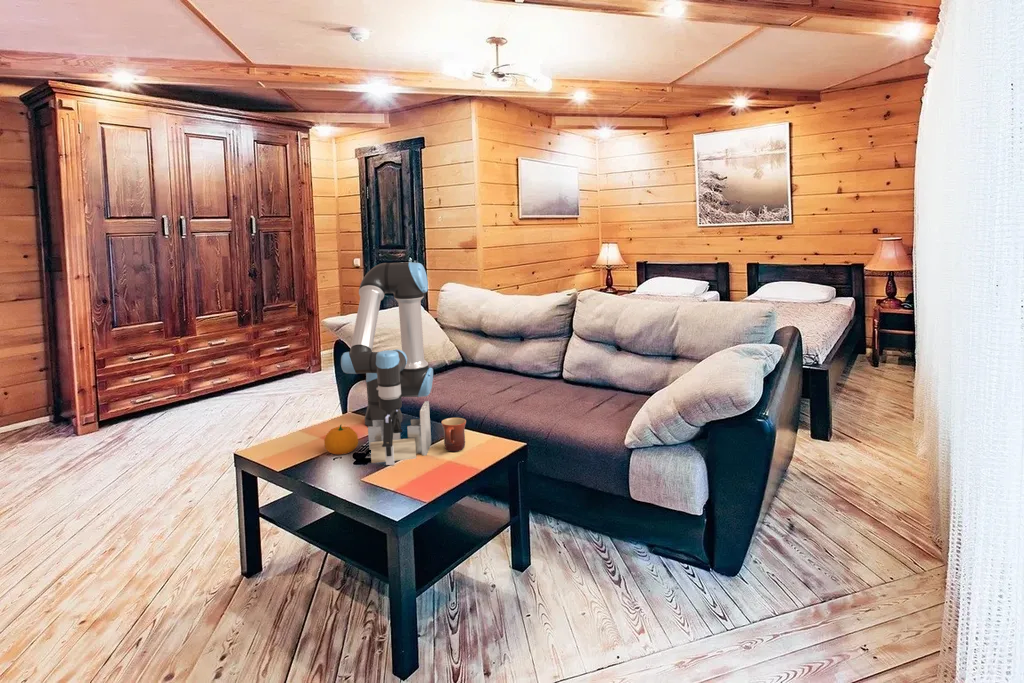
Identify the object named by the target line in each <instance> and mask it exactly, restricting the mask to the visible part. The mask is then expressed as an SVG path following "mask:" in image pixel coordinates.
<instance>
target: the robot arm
mask: <svg viewBox="0 0 1024 683" xmlns="http://www.w3.org/2000/svg"><path fill="white" fill-rule="evenodd" d="M428 285H429V283H428V275H427V272H426V269H425V267H424V265H423V264H422V263H420V262H411V261H408V262H407V261H405V262H382V263H379V264H377V265H375V266H373V267H372V268H371V269H370V270H369V271H368V272H367V273H366V274H365V276H364V277H363V278H362V280H361V282H360V285H359V288H358V295H359V303H358V308H357V313H356V319H355V324H354V327H353V333H352V339H351V345H350V349H349V350H350V351H346V352H343V353H342V355H341V357H340V366H341V370H342V371H343V373H345V374H352V375H358V374H365V376H366V377H365V379H366V380H365V384H366V393H367V394H366V395H367V396H366V397H367V407H366V412H365V415H364V424H365V426H367V427H371V426H373V420H383V422H384V428H383V445H382V447H385V457H386V462H385V465H386V466H393V465H395V461H394V448H393V444H392V443H393V440H399V439H402V438H401V433H403V428H402V426H401V423H402V422H403V414H402V411H401V408H402V406H403V405H402V398H423V397H428V396H429V395H430V394H431V391H432V387H433V381H434V369H433V368H432V366H431V367H429V362H428V361H427V360H426V359H425V354H424V353H425V350H424V337H423V336H424V335H423V320H422V319H423V318H422V305H421V304H422V303H421V301H422V299H423V298H424V297H425V294H426V293H427V292H428V290H429V286H428ZM385 294H393V298H394V299H395V300H396V302H397V303H398V313H399V316H398V317H399V326H400V327H399V329H400V330H399V332H400V344H401V349H398V348H397V349H395V348H394V349H391V350H390V349H386V350H382V351H373V347H374V342H375V335H376V329H377V323H378V318H379V312H380V307H381V306H380V305H381V301H383V300H384V298H385Z"/></svg>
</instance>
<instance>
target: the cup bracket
mask: <svg viewBox="0 0 1024 683" xmlns="http://www.w3.org/2000/svg"><path fill="white" fill-rule="evenodd" d="M430 414H431V413H430V400H424V403H423V404H422V406H421V407H420V410H419V418H411V419H410V425H407V428H406V429H407V439H409V438H415V444H416V454H421V456H427V455H428V453H429V450H430V447H431V445H432V435H431V434H432V432H431V430H432V429H431V418H430Z"/></svg>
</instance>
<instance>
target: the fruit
mask: <svg viewBox="0 0 1024 683" xmlns="http://www.w3.org/2000/svg"><path fill="white" fill-rule="evenodd" d="M323 441H324V448H325V450H326V451H327V452H328V453H330V454H333V455H338V456H339V455H340V456H341V455H346V454H349V453H352V452H353V451H355V449H356V448H357V447H358V445H359V437H358V434H357V432H356V431H355V430H354V429H352V428H351V427H350V426H342V424H340V425H339V426H335V427H333V428H332V429H330V430H329V431H328V432H327V433H326V435H325V437H324V440H323Z"/></svg>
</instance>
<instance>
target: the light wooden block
mask: <svg viewBox="0 0 1024 683" xmlns="http://www.w3.org/2000/svg"><path fill="white" fill-rule="evenodd" d="M392 444H393V448H394V462H396V461H405V460H406V461H407V460H413V459H417V453H416V444H415V438H409V439H408V438H401V439H399V440H393V443H392ZM382 445H383V441H378V442H370V449H371V455H370V460H371V461H370V463H371V464H375V463H386V457H385V447H382Z"/></svg>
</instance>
